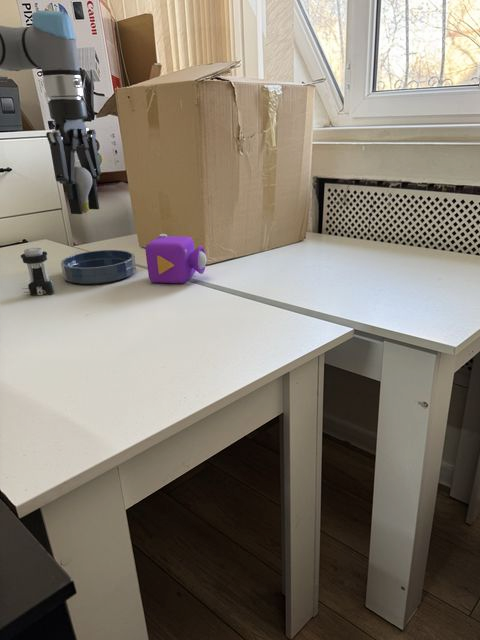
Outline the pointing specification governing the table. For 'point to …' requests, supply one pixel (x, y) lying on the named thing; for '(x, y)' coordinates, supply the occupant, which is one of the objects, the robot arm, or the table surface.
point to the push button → (37, 272)
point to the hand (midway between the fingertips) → (85, 211)
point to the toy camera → (174, 259)
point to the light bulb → (83, 186)
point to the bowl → (98, 266)
